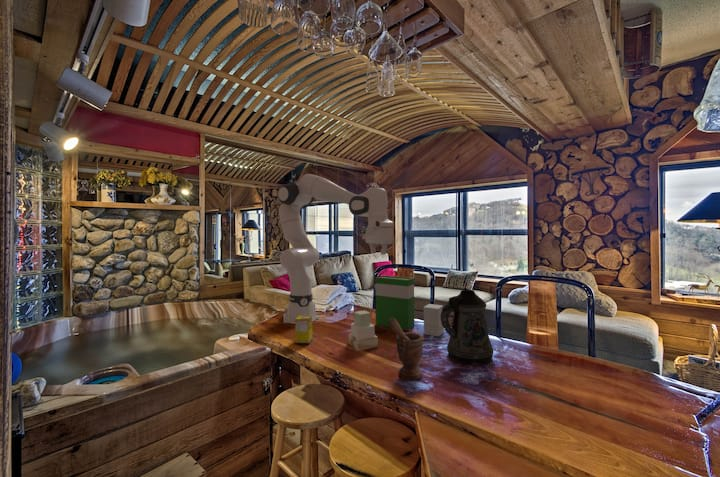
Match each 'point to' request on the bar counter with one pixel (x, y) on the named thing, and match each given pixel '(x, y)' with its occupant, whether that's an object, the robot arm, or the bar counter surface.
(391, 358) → the bar counter surface
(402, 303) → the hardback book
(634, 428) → the bar counter surface
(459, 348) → the beer stein
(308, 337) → the supplement box
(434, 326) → the supplement box
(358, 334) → the tower top
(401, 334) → the mortar and pestle
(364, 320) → the sage block
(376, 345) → the tower base
